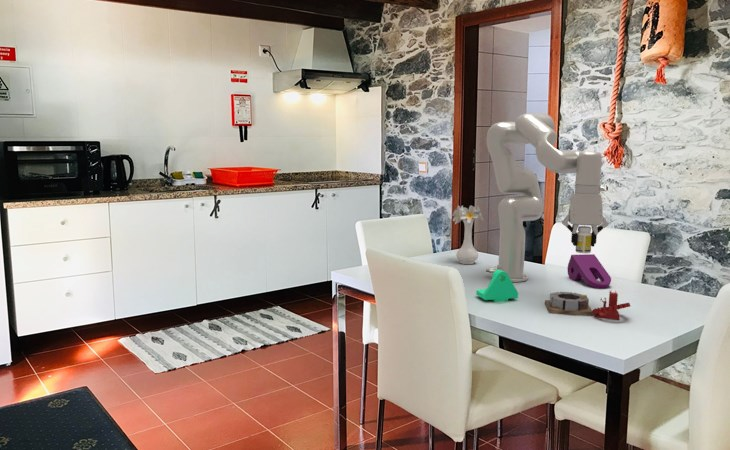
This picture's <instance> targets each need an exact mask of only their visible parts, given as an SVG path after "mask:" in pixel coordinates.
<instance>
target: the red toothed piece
mask: <svg viewBox="0 0 730 450" xmlns="http://www.w3.org/2000/svg"><path fill="white" fill-rule="evenodd" d="M608 295H609V297H608V306H607V297H604V298H603V297H600V300H599V301H600V302H602V303H603V305H602V306H600V307H596V308H594V309H593V308H592V311H593V318H597V319H604V320H614V321H619V320H620V316H621V315H620V311H618V310H620V309H625V308H629V307H631V303H630V302H625V303H619V304H618V296H619V294H618V292H617V291H616V290H615V292H612V291H609V293H608ZM602 298H603V299H602Z"/></svg>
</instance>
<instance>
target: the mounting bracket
mask: <svg viewBox="0 0 730 450" xmlns="http://www.w3.org/2000/svg"><path fill="white" fill-rule="evenodd" d="M567 275H568V277H569V278H568V279H570V280H571V281H580V280H582V279H583V281H584V282H585V283H586V285H588V286H590V287H592V288H594V289H599V290H600V289H608V288H609V287H610V285H611V282H612V277H611V275H610V274H609V272H607V270H606V269H605V267H604V265H602V263H601V262H600V260H599V259H598V257H597V256H596V254H593V253H591V254H590V253H583V254H571V255H570V257H569V260H568V264H567Z"/></svg>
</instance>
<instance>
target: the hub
mask: <svg viewBox="0 0 730 450" xmlns="http://www.w3.org/2000/svg"><path fill="white" fill-rule="evenodd" d="M548 300H549V304H550V306H552V307H554V308H557V309H561V310H566V311H582V310H586V309H588V305H589V298H588V295H587V294H581V293H577V292H569V291H555V292H552V293H551V292H550V294H549V299H548Z"/></svg>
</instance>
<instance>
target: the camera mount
mask: <svg viewBox="0 0 730 450" xmlns="http://www.w3.org/2000/svg"><path fill="white" fill-rule="evenodd" d="M500 276H501V278H500ZM491 278H492V279H491V281H490V283H488V286H487V288H483V289H479V288H478V289H476V290H475V291H476V294H475V295H476V296H478V297H480V298H481V299H483V300H484V301H488V300H491V301H493V302H494V303H500V302H501V303H502V302H508V301H509V299H518V298H519V292H518V290H517V288H516V287H515V285H514V282H512V281H511V279H510V277H509V276H508V274H507V273H506V272H504V271H502V270H496V271H494V273H492V276H491Z"/></svg>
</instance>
